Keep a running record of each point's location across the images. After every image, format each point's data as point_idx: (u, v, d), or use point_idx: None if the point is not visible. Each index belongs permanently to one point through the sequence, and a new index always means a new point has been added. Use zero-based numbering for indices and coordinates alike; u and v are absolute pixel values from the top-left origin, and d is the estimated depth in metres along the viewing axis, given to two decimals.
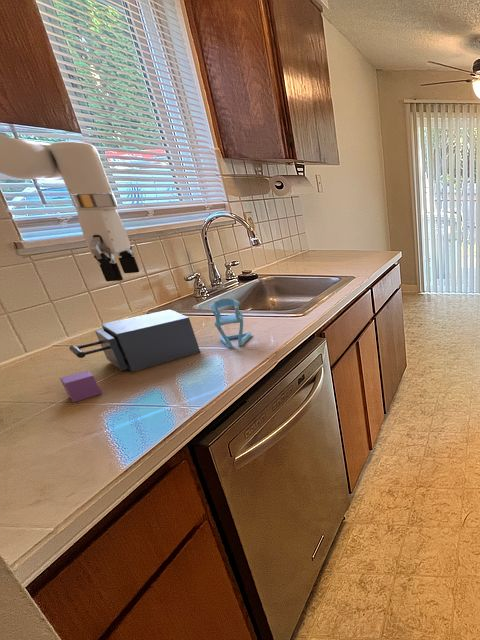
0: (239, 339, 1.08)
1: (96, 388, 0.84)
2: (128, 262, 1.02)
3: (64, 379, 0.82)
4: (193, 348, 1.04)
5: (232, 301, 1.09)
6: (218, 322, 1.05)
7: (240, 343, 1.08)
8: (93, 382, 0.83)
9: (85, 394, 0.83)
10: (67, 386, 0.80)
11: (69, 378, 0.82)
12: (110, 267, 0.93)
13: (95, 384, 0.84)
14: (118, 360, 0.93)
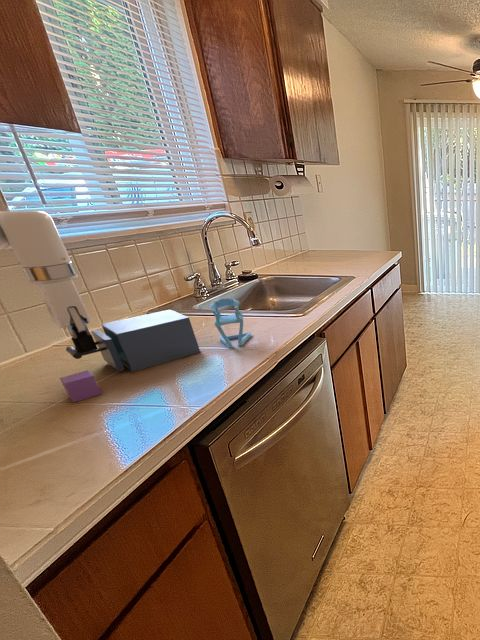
0: (239, 339, 1.08)
1: (96, 388, 0.84)
2: None
3: (64, 379, 0.82)
4: (193, 348, 1.04)
5: (232, 301, 1.09)
6: (218, 322, 1.05)
7: (240, 343, 1.08)
8: (93, 382, 0.83)
9: (85, 394, 0.83)
10: (67, 386, 0.80)
11: (69, 378, 0.82)
12: (87, 339, 0.90)
13: (95, 384, 0.84)
14: (115, 361, 0.92)
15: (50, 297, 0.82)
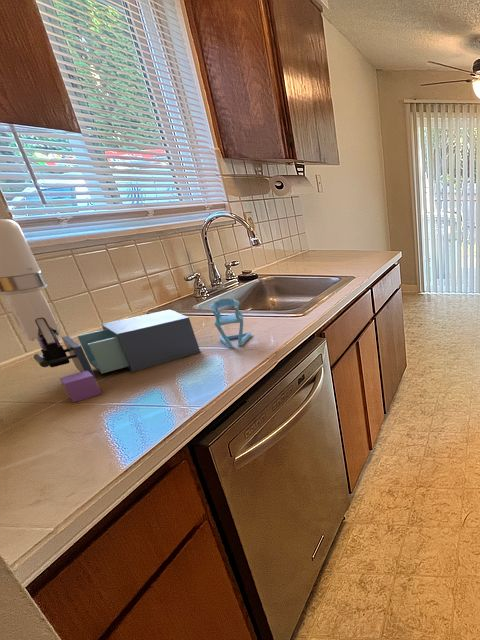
0: (239, 339, 1.08)
1: (96, 388, 0.84)
2: None
3: (64, 379, 0.82)
4: (193, 348, 1.04)
5: (232, 301, 1.09)
6: (218, 322, 1.05)
7: (240, 343, 1.08)
8: (93, 382, 0.83)
9: (85, 394, 0.83)
10: (67, 386, 0.80)
11: (69, 378, 0.82)
12: (58, 351, 0.87)
13: (95, 384, 0.84)
14: (85, 369, 0.88)
15: (17, 308, 0.79)
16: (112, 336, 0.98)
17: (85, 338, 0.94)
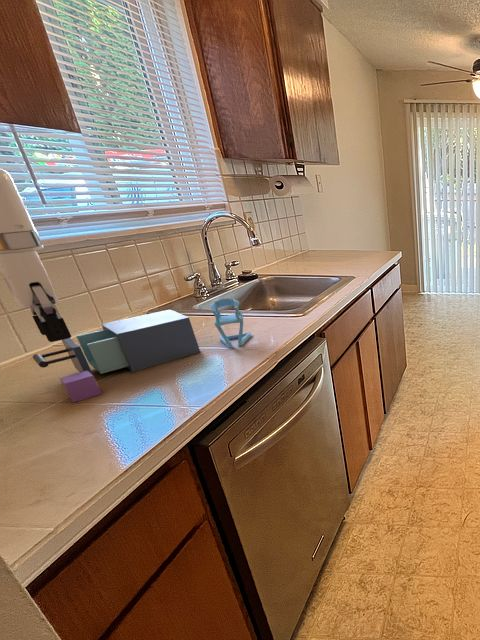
0: (239, 339, 1.08)
1: (96, 388, 0.84)
2: None
3: (64, 379, 0.82)
4: (193, 348, 1.04)
5: (232, 301, 1.09)
6: (218, 322, 1.05)
7: (240, 343, 1.08)
8: (93, 382, 0.83)
9: (85, 394, 0.83)
10: (67, 386, 0.80)
11: (69, 378, 0.82)
12: (58, 323, 0.76)
13: (95, 384, 0.84)
14: (84, 369, 0.88)
15: (8, 270, 0.69)
16: (111, 336, 0.98)
17: (84, 338, 0.94)
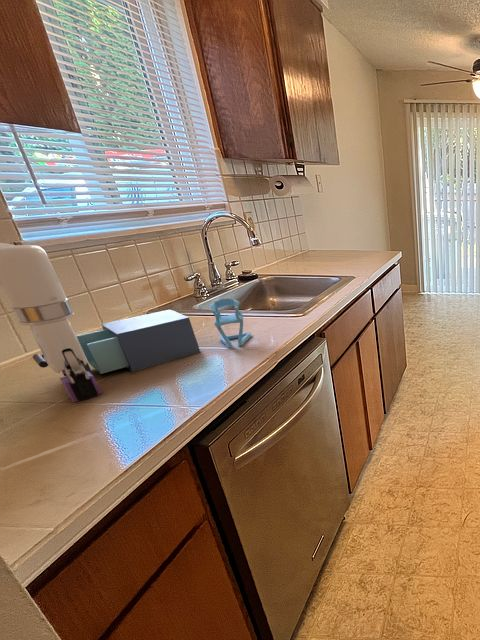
0: (239, 339, 1.08)
1: (96, 388, 0.84)
2: None
3: (64, 379, 0.82)
4: (193, 348, 1.04)
5: (232, 301, 1.09)
6: (218, 322, 1.05)
7: (240, 343, 1.08)
8: (93, 382, 0.83)
9: None
10: (67, 386, 0.80)
11: None
12: (86, 384, 0.82)
13: (95, 384, 0.84)
14: None
15: (43, 340, 0.74)
16: (111, 336, 0.98)
17: (84, 338, 0.94)
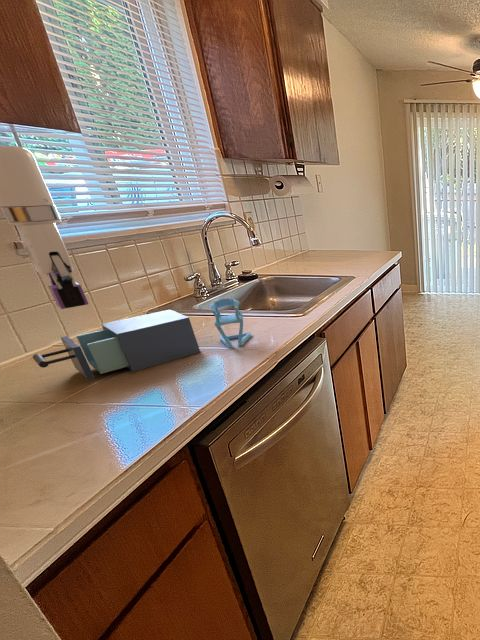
0: (239, 339, 1.08)
1: (84, 298, 0.87)
2: None
3: (52, 286, 0.84)
4: (193, 348, 1.04)
5: (232, 301, 1.09)
6: (218, 322, 1.05)
7: (240, 343, 1.08)
8: (81, 292, 0.86)
9: None
10: (55, 292, 0.83)
11: None
12: (73, 291, 0.84)
13: (82, 293, 0.86)
14: (84, 369, 0.88)
15: (30, 240, 0.77)
16: (111, 336, 0.98)
17: (84, 338, 0.94)
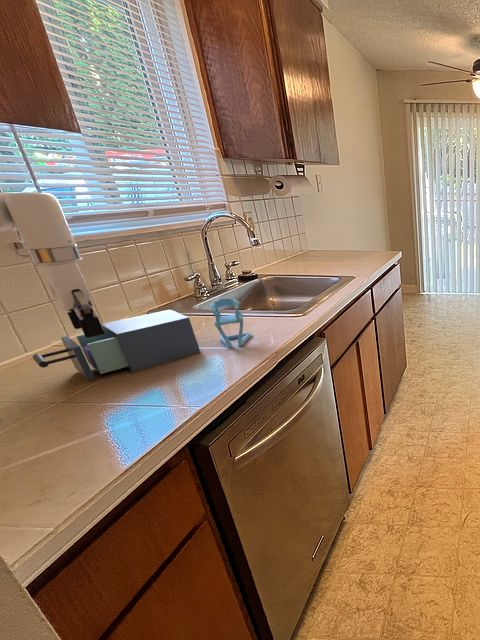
0: (239, 339, 1.08)
1: None
2: None
3: (86, 347, 0.92)
4: (193, 348, 1.04)
5: (232, 301, 1.09)
6: (218, 322, 1.05)
7: (240, 343, 1.08)
8: None
9: None
10: (89, 353, 0.91)
11: None
12: (94, 321, 0.88)
13: None
14: (84, 369, 0.88)
15: (55, 279, 0.82)
16: (111, 336, 0.98)
17: (84, 338, 0.94)
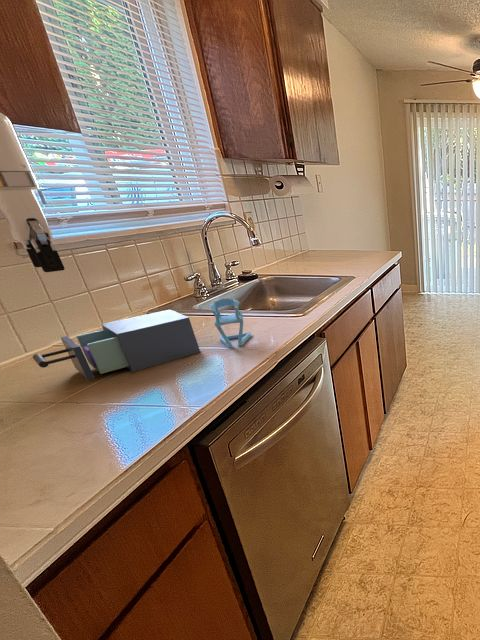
0: (239, 339, 1.08)
1: None
2: None
3: (86, 347, 0.92)
4: (193, 348, 1.04)
5: (232, 301, 1.09)
6: (218, 322, 1.05)
7: (240, 343, 1.08)
8: None
9: None
10: (89, 353, 0.91)
11: None
12: (52, 255, 0.82)
13: None
14: (84, 369, 0.88)
15: (7, 205, 0.77)
16: (111, 336, 0.98)
17: (84, 338, 0.94)
